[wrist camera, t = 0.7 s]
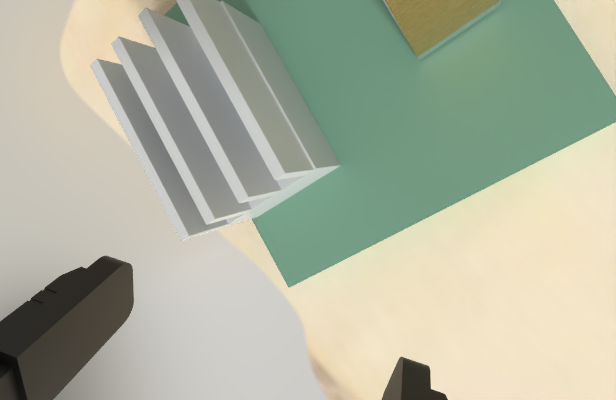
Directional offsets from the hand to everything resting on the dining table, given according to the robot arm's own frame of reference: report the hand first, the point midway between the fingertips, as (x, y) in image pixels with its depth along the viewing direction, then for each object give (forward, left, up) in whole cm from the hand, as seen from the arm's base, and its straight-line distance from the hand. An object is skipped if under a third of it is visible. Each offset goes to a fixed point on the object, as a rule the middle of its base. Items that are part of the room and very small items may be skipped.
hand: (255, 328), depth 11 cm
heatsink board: (-11, -3, -20) cm, 23 cm away
